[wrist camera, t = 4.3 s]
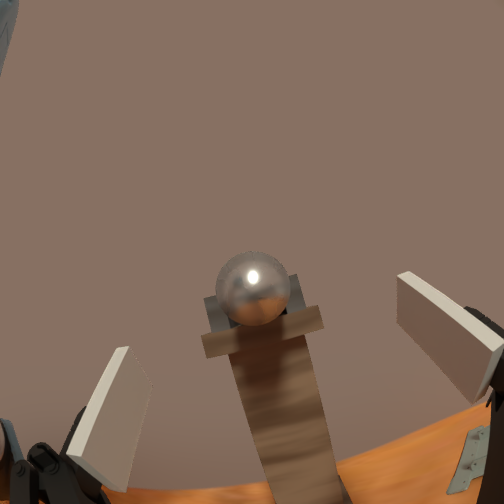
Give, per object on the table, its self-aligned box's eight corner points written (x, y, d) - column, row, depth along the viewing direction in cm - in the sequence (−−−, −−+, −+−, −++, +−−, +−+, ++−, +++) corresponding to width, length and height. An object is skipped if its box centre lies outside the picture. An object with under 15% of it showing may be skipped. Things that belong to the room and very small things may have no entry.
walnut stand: (364, 534, 15) (308, 270, 23) (280, 555, 15) (192, 301, 23) (340, 482, 29) (292, 286, 36) (278, 498, 29) (219, 306, 36)
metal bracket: (533, 388, 18) (539, 448, 8) (538, 414, 15) (540, 476, 5) (459, 427, 27) (435, 488, 17) (467, 449, 24) (443, 511, 14)
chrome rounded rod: (293, 322, 14) (286, 248, 15) (217, 327, 14) (214, 254, 15) (277, 317, 34) (275, 285, 34) (245, 319, 34) (243, 287, 35)
